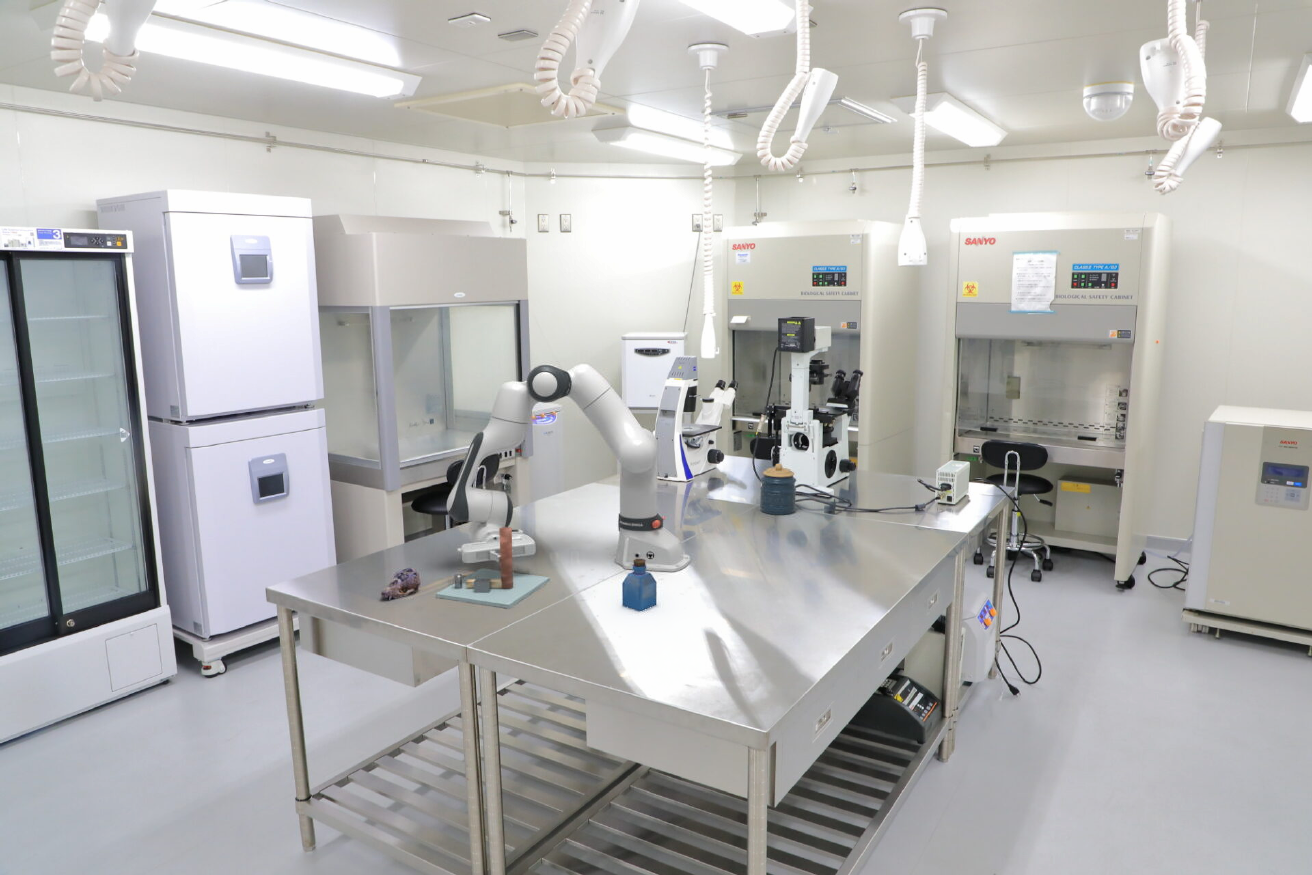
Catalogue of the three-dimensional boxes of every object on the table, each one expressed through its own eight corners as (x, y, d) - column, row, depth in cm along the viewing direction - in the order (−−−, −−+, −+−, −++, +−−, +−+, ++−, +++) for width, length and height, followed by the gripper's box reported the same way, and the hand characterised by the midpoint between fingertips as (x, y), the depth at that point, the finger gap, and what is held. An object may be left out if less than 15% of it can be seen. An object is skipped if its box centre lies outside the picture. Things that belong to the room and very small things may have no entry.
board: (550, 580, 236) (549, 577, 236) (509, 608, 216) (509, 604, 215) (481, 571, 244) (481, 568, 243) (436, 597, 223) (435, 593, 223)
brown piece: (465, 588, 226) (463, 530, 223) (468, 584, 229) (465, 527, 226) (512, 588, 226) (510, 530, 224) (514, 584, 229) (512, 527, 227)
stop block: (491, 589, 226) (490, 578, 226) (489, 592, 224) (489, 581, 224) (476, 589, 226) (475, 578, 226) (474, 592, 224) (473, 581, 224)
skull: (390, 603, 219) (388, 581, 218) (371, 597, 223) (369, 575, 222) (426, 590, 229) (425, 568, 228) (407, 584, 233) (406, 563, 232)
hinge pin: (464, 590, 228) (463, 574, 228) (459, 592, 227) (459, 576, 226) (457, 589, 229) (457, 573, 228) (453, 591, 227) (452, 575, 226)
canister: (752, 508, 314) (754, 461, 310) (782, 504, 319) (783, 458, 316) (772, 517, 302) (773, 468, 299) (802, 513, 307) (804, 465, 304)
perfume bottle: (638, 599, 222) (638, 555, 220) (656, 604, 218) (656, 560, 216) (622, 606, 218) (622, 561, 216) (640, 611, 214) (640, 566, 212)
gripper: (455, 537, 236) (465, 552, 223) (527, 528, 244) (541, 542, 231) (456, 559, 237) (466, 575, 224) (527, 549, 245) (541, 564, 233)
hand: (505, 558), depth 228 cm, fingers closed on brown piece
